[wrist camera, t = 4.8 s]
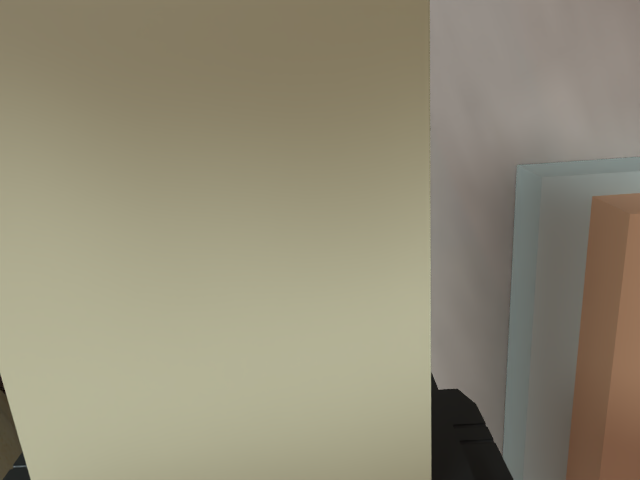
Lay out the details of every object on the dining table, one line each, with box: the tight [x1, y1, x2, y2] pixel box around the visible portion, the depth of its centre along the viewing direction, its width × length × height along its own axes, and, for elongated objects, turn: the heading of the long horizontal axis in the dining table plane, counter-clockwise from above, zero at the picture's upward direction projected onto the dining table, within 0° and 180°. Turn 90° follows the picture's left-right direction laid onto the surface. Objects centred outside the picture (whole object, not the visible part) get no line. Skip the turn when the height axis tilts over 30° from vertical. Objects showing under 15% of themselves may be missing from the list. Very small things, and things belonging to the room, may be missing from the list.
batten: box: [0, 0, 431, 480], centre depth 10 cm, size 22×5×5 cm, turn 4°
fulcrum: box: [503, 157, 640, 480], centre depth 27 cm, size 18×7×6 cm, turn 3°
